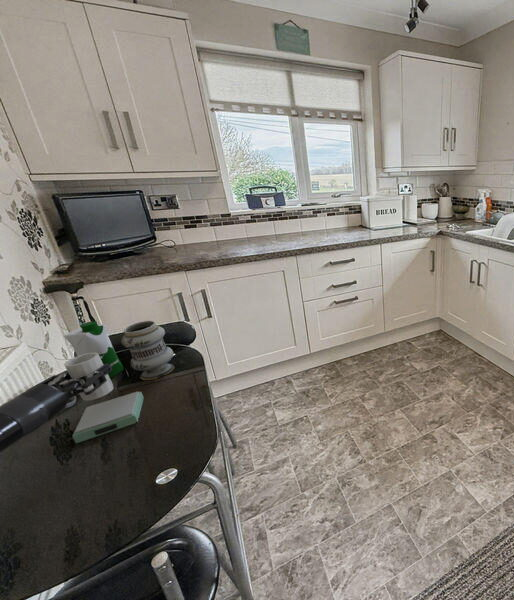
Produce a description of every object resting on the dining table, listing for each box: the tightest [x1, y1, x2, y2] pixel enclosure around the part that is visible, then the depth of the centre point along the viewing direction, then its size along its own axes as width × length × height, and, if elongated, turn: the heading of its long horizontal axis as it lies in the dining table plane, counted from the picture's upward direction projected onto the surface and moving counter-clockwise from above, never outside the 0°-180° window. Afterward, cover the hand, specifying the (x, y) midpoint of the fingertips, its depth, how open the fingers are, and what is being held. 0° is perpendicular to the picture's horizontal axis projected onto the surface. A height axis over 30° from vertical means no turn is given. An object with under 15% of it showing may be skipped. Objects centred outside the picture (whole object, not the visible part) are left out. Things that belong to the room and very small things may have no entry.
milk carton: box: [63, 320, 125, 379], centre depth 111 cm, size 9×9×20 cm
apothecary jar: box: [120, 320, 175, 381], centre depth 111 cm, size 12×12×18 cm
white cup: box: [63, 353, 115, 402], centre depth 81 cm, size 6×6×10 cm
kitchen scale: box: [71, 391, 145, 444], centre depth 91 cm, size 13×14×3 cm
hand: (96, 367), depth 83 cm, fingers closed on white cup, 6 cm apart
